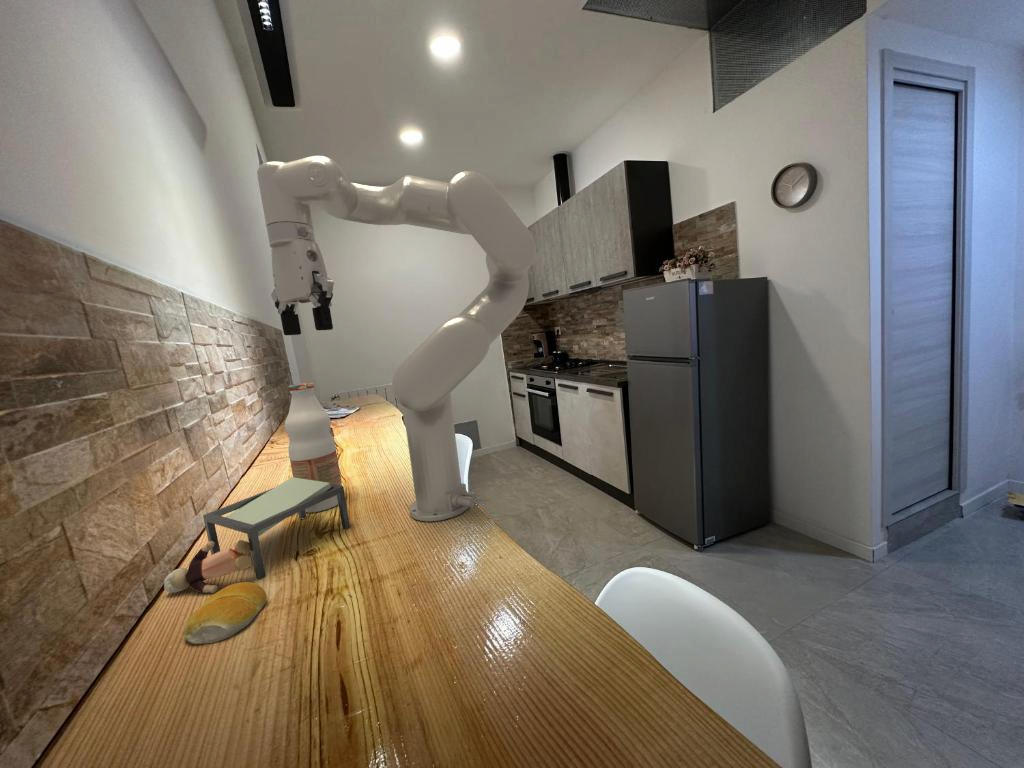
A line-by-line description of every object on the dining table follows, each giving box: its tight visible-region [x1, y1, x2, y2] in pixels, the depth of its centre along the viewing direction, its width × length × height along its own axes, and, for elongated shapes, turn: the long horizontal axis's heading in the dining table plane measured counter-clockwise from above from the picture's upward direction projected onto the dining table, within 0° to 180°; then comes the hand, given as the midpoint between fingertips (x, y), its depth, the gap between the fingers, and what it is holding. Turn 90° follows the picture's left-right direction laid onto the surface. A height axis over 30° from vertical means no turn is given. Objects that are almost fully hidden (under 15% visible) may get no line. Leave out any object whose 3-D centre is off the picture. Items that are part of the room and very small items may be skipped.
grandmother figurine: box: [163, 539, 252, 594], centre depth 60 cm, size 8×4×13 cm
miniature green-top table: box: [202, 484, 351, 580], centre depth 71 cm, size 15×17×8 cm
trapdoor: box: [225, 476, 331, 537], centre depth 71 cm, size 12×14×3 cm
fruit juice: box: [284, 382, 343, 514], centre depth 87 cm, size 9×9×28 cm
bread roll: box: [183, 581, 268, 645], centre depth 52 cm, size 8×9×4 cm
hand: (308, 332), depth 73 cm, fingers open, 9 cm apart
